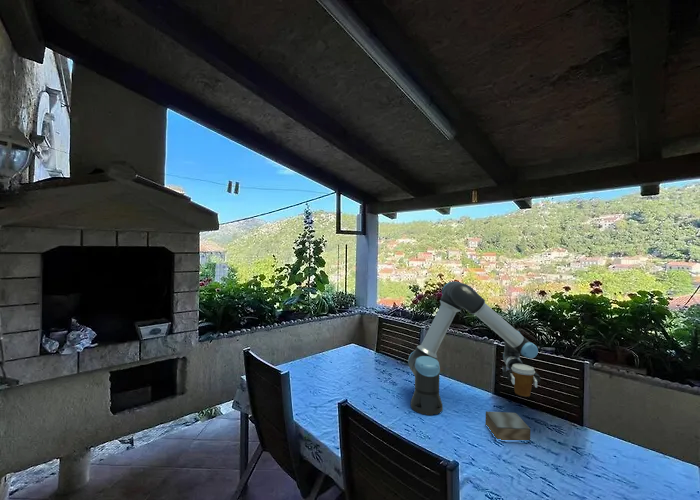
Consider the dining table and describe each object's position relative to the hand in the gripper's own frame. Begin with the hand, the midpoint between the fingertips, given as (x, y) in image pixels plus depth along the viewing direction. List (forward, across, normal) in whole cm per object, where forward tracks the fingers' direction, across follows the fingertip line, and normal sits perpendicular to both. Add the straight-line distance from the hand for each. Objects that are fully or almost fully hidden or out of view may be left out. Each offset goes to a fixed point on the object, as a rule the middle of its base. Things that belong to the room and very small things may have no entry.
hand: (524, 382), depth 143 cm
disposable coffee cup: (-5, 0, -7) cm, 8 cm away
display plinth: (+7, +8, -20) cm, 23 cm away
